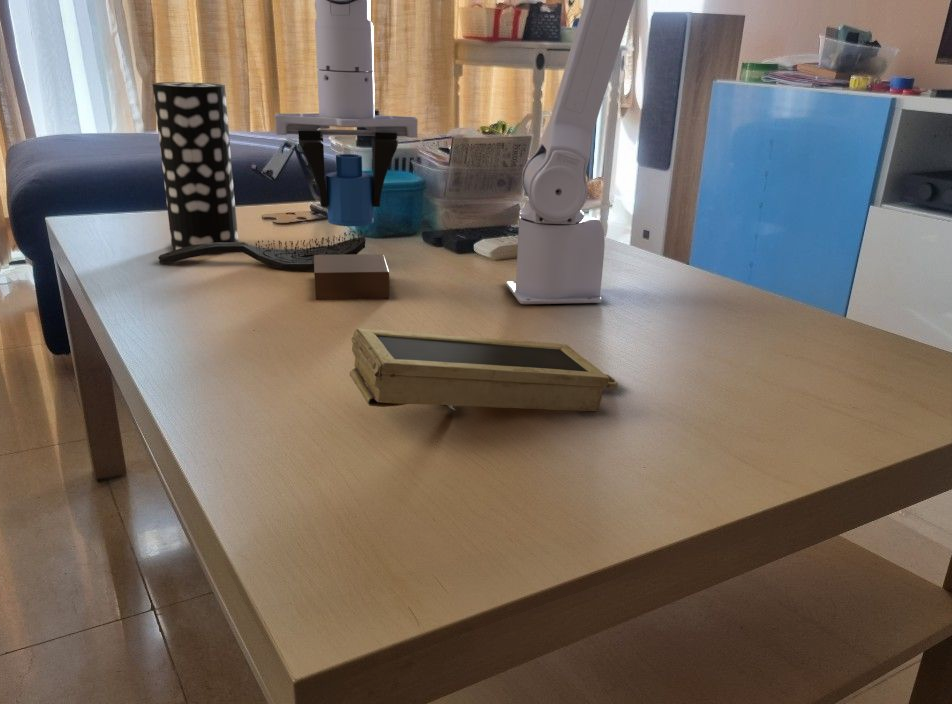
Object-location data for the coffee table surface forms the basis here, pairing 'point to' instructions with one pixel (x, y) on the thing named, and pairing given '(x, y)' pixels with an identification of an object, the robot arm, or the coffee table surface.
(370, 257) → the block
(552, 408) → the box
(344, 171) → the bottle
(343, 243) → the hairbrush
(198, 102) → the white-spotted black cylinder
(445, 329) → the coffee table surface
